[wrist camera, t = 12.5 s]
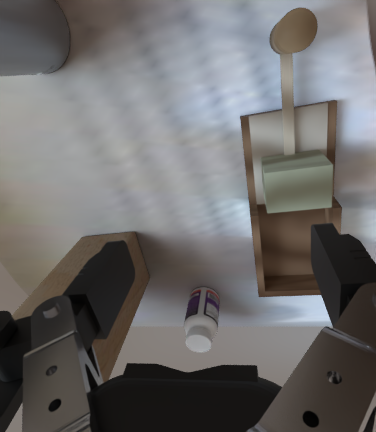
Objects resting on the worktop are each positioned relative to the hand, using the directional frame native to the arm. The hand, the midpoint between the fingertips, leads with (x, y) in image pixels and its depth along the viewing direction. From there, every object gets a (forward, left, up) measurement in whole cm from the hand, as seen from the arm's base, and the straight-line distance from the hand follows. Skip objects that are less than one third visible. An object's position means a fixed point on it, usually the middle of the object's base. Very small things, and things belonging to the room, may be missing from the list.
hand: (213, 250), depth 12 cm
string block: (0, +7, -27) cm, 28 cm away
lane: (+12, +7, -28) cm, 31 cm away
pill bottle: (+29, -8, -28) cm, 41 cm away
